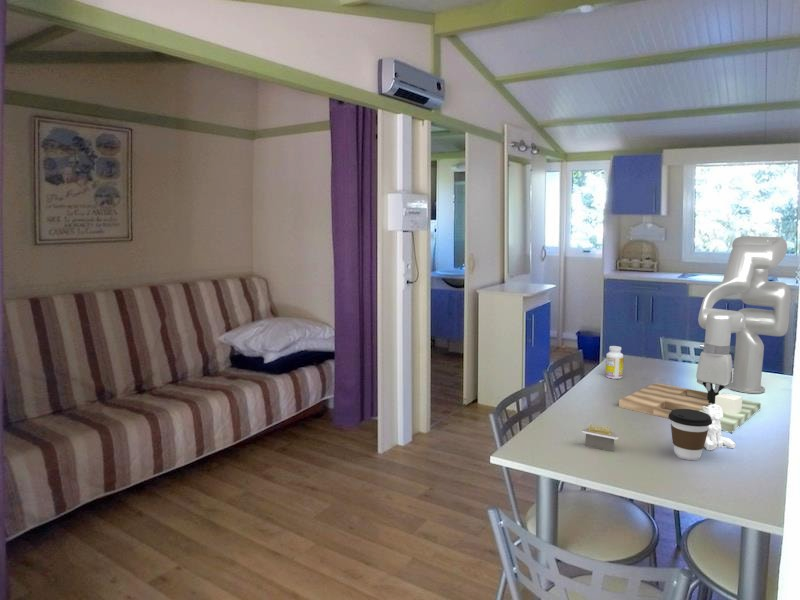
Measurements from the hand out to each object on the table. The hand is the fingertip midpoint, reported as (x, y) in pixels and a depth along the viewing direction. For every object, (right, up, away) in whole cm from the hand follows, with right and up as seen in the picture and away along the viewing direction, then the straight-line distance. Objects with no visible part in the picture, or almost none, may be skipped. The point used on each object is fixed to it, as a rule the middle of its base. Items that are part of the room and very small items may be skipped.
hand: (712, 402), depth 205 cm
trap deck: (-5, -3, +6) cm, 8 cm away
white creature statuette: (-15, -8, -28) cm, 32 cm away
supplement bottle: (-17, +2, +46) cm, 49 cm away
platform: (-48, -8, -31) cm, 58 cm away
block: (+3, -2, -5) cm, 6 cm away
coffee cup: (-26, -9, -37) cm, 46 cm away
